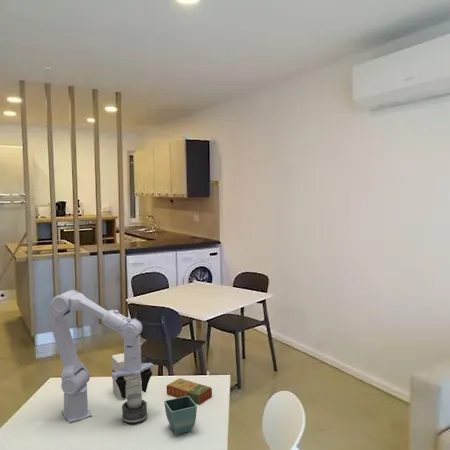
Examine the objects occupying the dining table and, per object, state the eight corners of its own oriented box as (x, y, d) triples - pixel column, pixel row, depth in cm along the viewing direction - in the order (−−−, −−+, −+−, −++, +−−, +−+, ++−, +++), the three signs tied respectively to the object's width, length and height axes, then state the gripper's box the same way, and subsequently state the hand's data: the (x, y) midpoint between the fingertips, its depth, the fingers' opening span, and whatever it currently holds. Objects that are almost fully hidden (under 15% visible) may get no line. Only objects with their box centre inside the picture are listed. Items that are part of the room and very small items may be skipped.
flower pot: (164, 426, 151) (163, 400, 150) (189, 420, 154) (188, 395, 153) (172, 439, 143) (171, 411, 142) (198, 432, 146) (197, 406, 145)
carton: (180, 387, 181) (180, 377, 181) (212, 397, 172) (212, 386, 171) (166, 395, 174) (166, 384, 174) (199, 406, 165) (199, 394, 165)
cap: (125, 407, 156) (124, 396, 156) (138, 402, 159) (138, 391, 159) (131, 412, 152) (130, 401, 152) (144, 408, 155) (144, 397, 155)
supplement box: (112, 392, 177) (110, 355, 176) (134, 386, 182) (132, 350, 181) (119, 401, 169) (117, 362, 168) (142, 395, 174) (140, 357, 173)
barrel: (118, 417, 157) (117, 403, 157) (140, 410, 162) (140, 396, 162) (128, 427, 150) (128, 413, 150) (151, 419, 155) (151, 405, 155)
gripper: (117, 364, 147) (118, 404, 148) (157, 354, 155) (158, 392, 156) (108, 358, 152) (110, 397, 154) (147, 348, 161) (148, 385, 162)
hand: (133, 394), depth 155 cm, fingers open, 7 cm apart
